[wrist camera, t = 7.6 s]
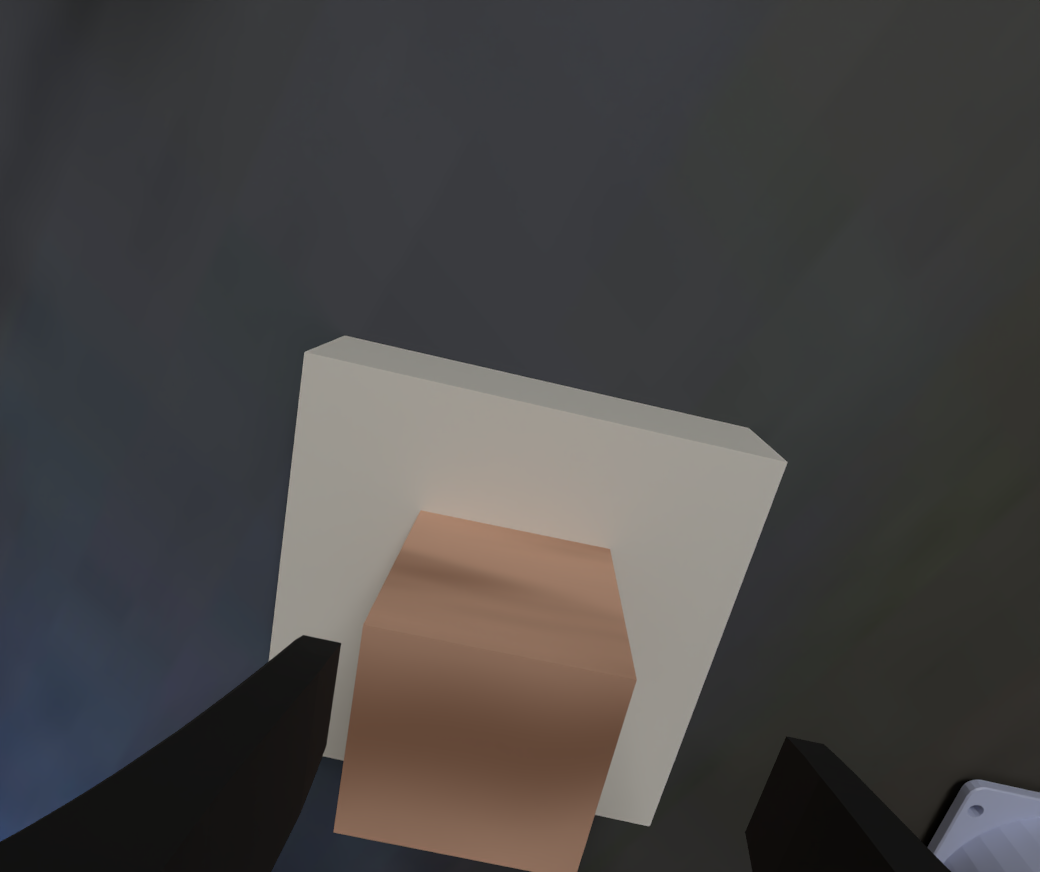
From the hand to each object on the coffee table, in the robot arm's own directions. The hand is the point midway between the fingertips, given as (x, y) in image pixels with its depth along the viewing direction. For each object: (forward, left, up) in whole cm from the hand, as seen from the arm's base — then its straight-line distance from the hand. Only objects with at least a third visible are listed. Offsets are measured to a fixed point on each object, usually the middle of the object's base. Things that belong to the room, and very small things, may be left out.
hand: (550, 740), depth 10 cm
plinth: (-2, +1, -9) cm, 10 cm away
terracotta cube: (-2, +1, -6) cm, 7 cm away
